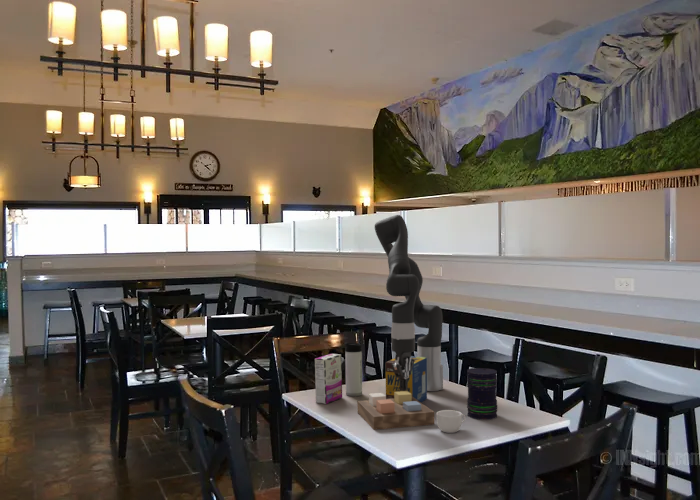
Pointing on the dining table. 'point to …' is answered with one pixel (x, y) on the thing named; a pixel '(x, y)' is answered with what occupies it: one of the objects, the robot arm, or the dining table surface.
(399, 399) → the ochre key
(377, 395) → the white block
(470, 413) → the storage jar
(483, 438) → the dining table surface
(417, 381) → the protein box
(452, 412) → the teacup
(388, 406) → the terracotta key
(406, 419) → the brown flat wooden block
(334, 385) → the candy bar box
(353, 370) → the travel mug
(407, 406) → the light blue block
